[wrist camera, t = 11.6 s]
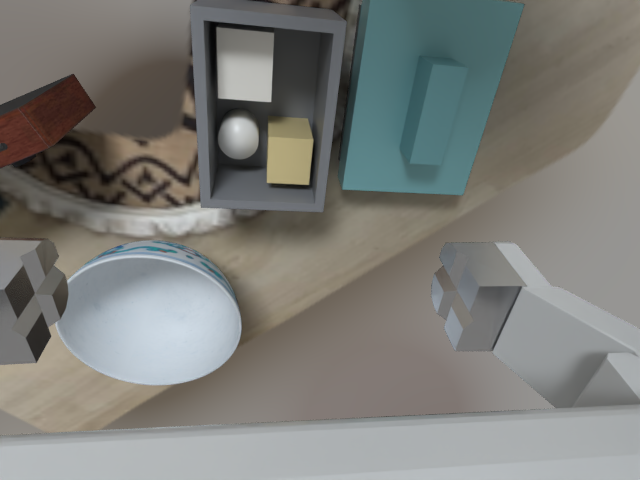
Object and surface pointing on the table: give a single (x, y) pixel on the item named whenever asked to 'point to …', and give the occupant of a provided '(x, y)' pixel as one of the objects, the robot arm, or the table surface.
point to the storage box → (265, 102)
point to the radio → (41, 119)
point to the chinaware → (151, 314)
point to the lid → (423, 92)
